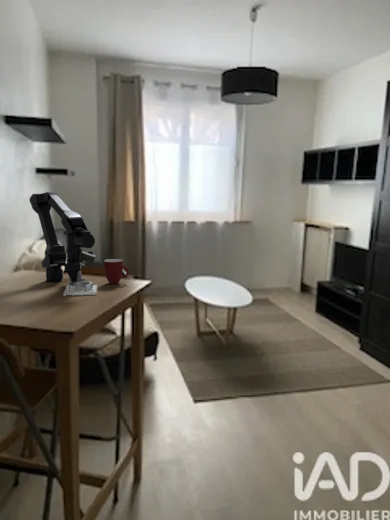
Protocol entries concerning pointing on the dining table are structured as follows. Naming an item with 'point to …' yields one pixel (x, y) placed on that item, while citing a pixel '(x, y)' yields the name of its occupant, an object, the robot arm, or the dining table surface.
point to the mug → (114, 270)
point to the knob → (78, 277)
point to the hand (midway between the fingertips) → (75, 283)
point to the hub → (80, 288)
